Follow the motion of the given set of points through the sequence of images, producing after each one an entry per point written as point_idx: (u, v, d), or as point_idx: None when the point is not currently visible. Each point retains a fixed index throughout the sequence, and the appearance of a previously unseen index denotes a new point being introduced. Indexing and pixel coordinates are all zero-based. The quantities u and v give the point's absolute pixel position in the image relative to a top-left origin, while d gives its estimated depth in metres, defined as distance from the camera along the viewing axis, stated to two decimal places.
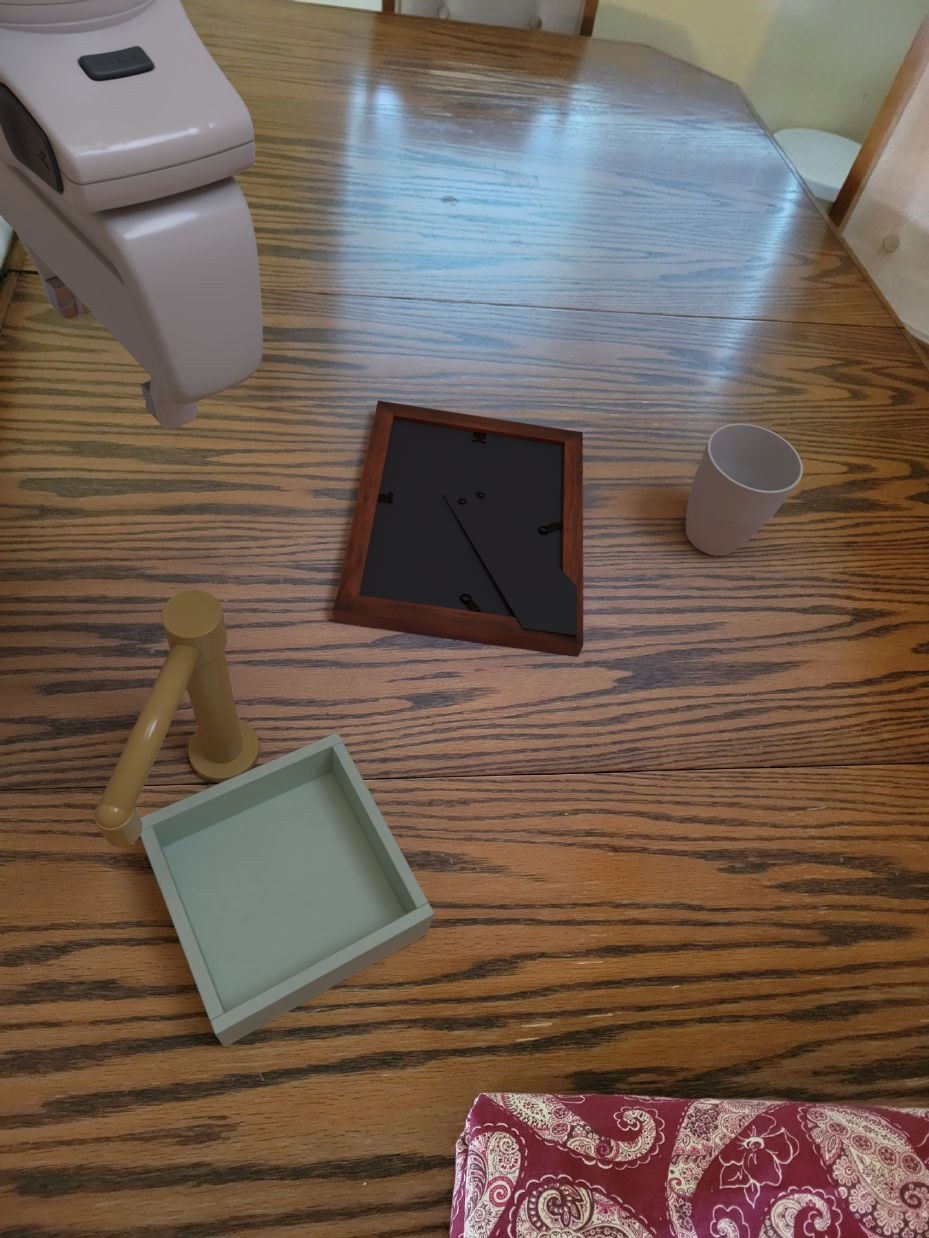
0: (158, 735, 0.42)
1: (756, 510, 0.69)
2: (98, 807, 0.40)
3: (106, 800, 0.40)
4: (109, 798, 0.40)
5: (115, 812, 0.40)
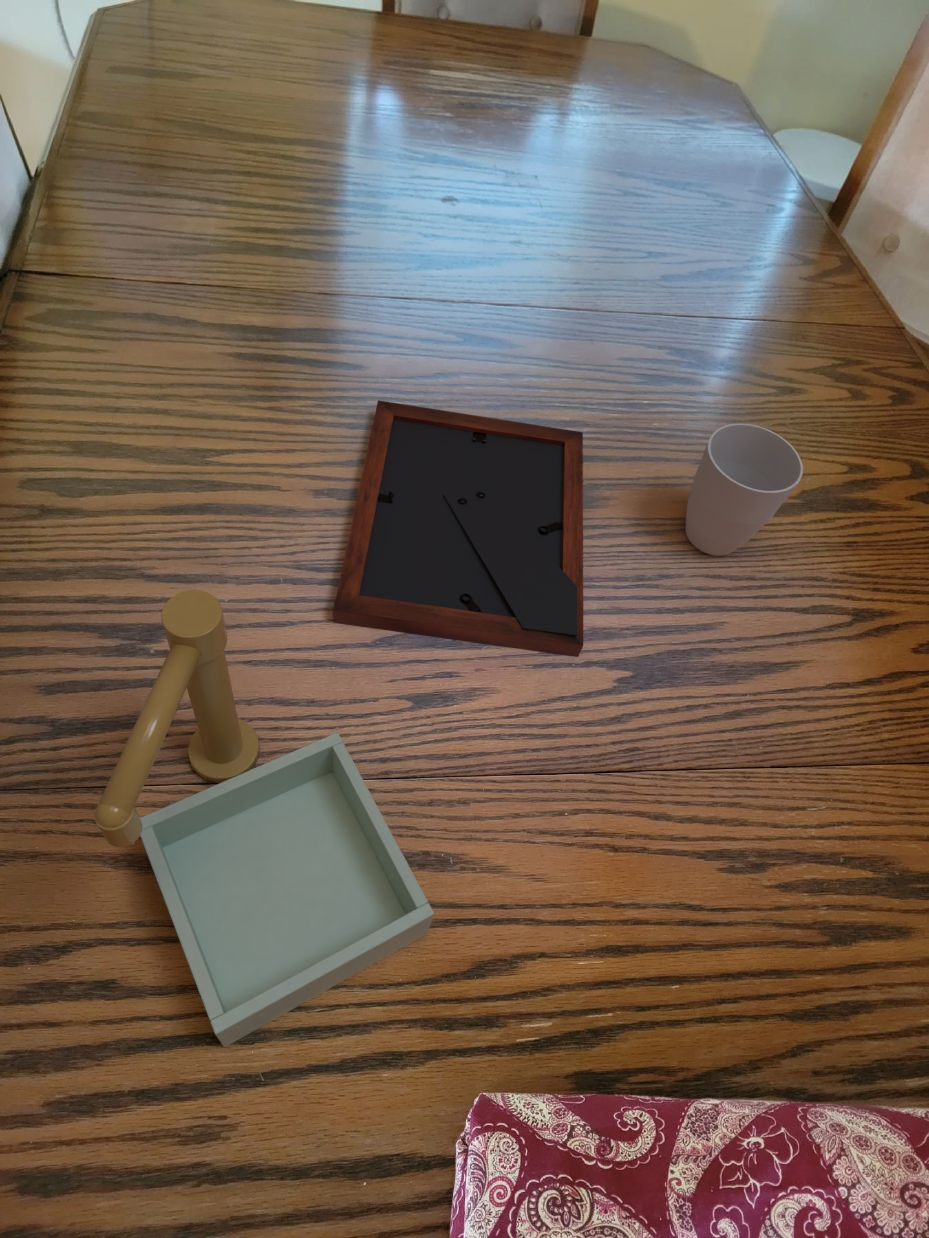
0: (158, 735, 0.42)
1: (756, 510, 0.69)
2: (98, 807, 0.40)
3: (106, 800, 0.40)
4: (109, 798, 0.40)
5: (115, 812, 0.40)
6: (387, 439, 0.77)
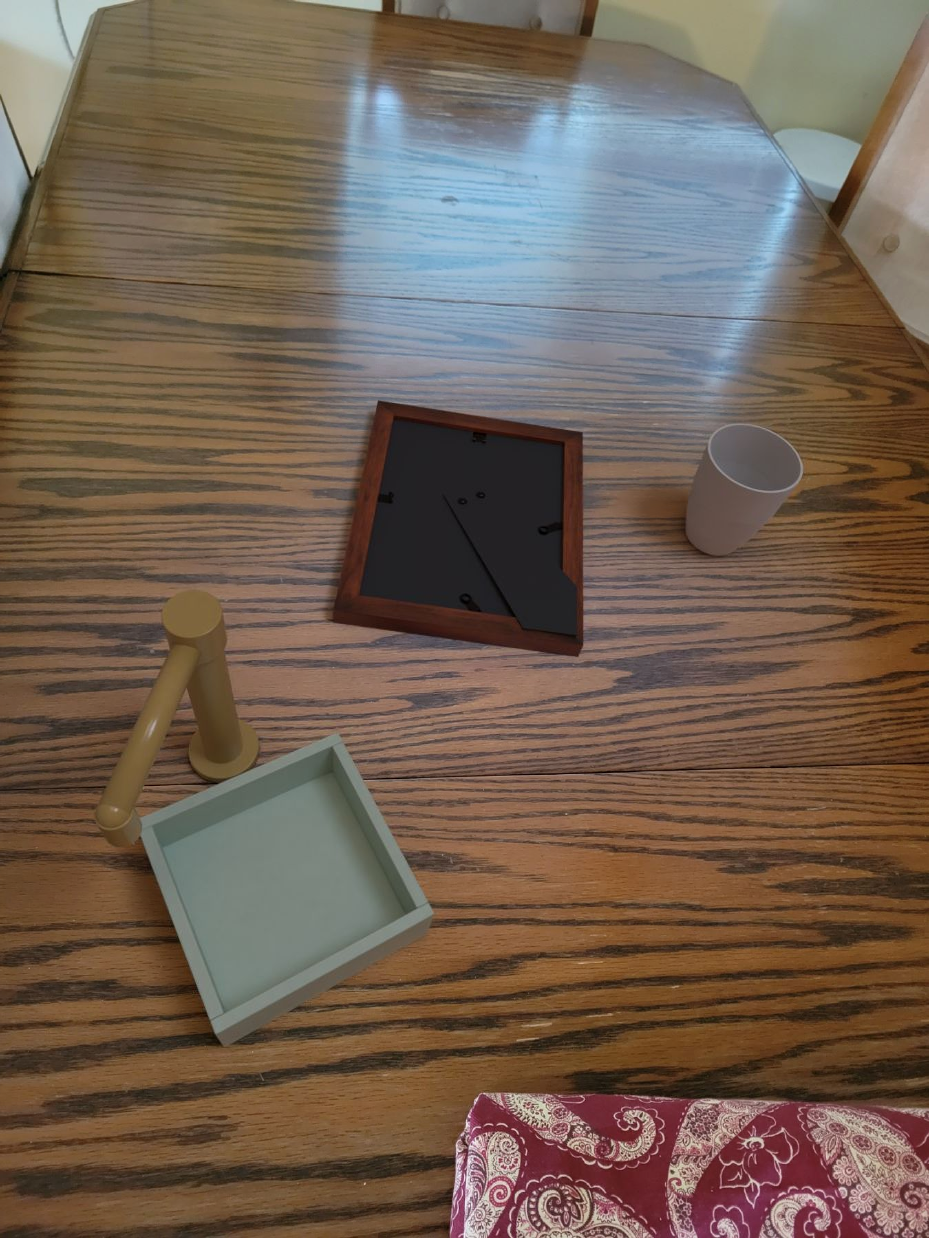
0: (158, 735, 0.42)
1: (756, 510, 0.69)
2: (98, 807, 0.40)
3: (106, 800, 0.40)
4: (109, 798, 0.40)
5: (115, 812, 0.40)
6: (387, 439, 0.77)
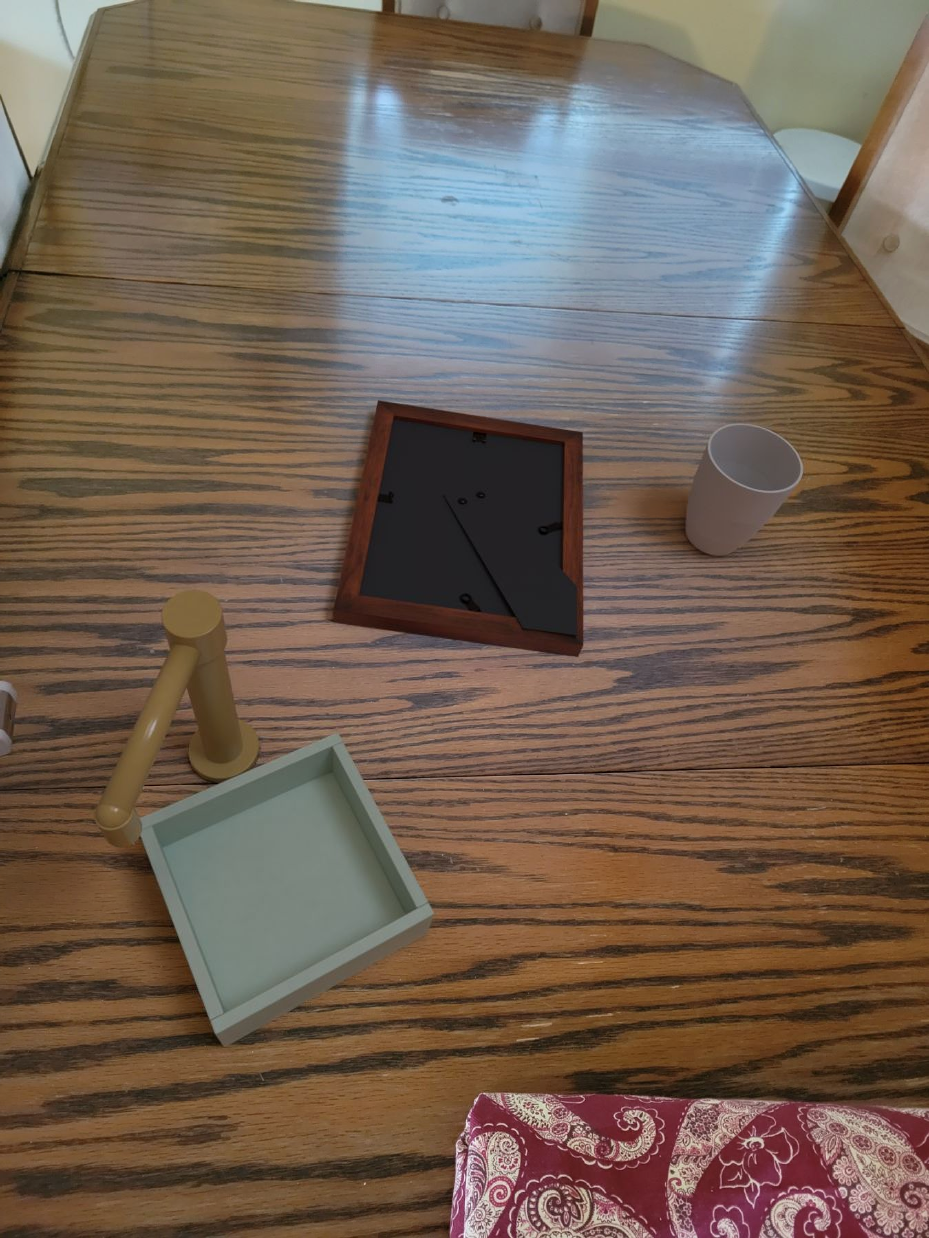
0: (158, 735, 0.42)
1: (756, 510, 0.69)
2: (98, 807, 0.40)
3: (106, 800, 0.40)
4: (109, 798, 0.40)
5: (115, 812, 0.40)
6: (387, 439, 0.77)
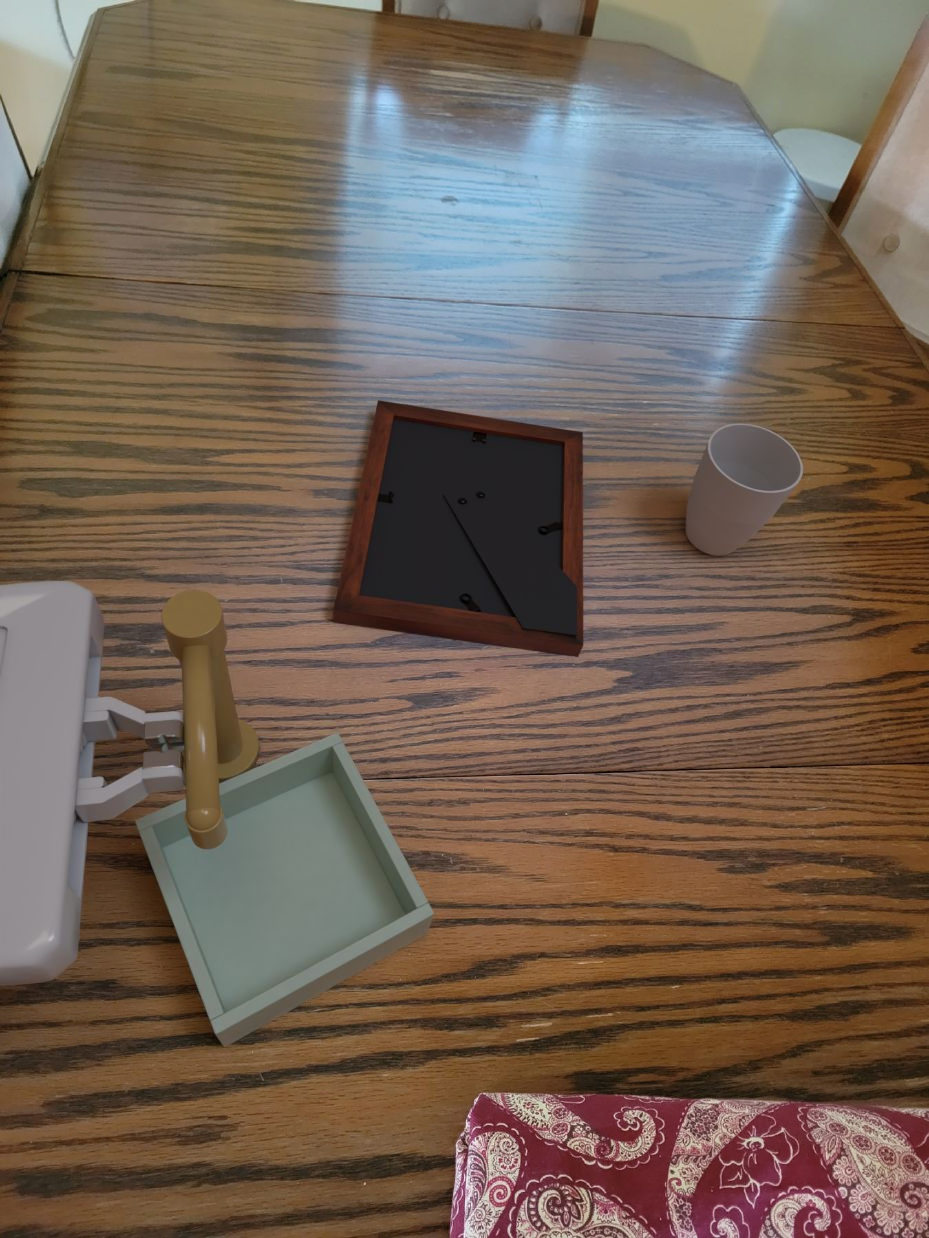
0: (212, 732, 0.43)
1: (756, 510, 0.69)
2: (189, 814, 0.40)
3: (195, 805, 0.40)
4: (197, 802, 0.40)
5: (209, 812, 0.40)
6: (387, 439, 0.77)
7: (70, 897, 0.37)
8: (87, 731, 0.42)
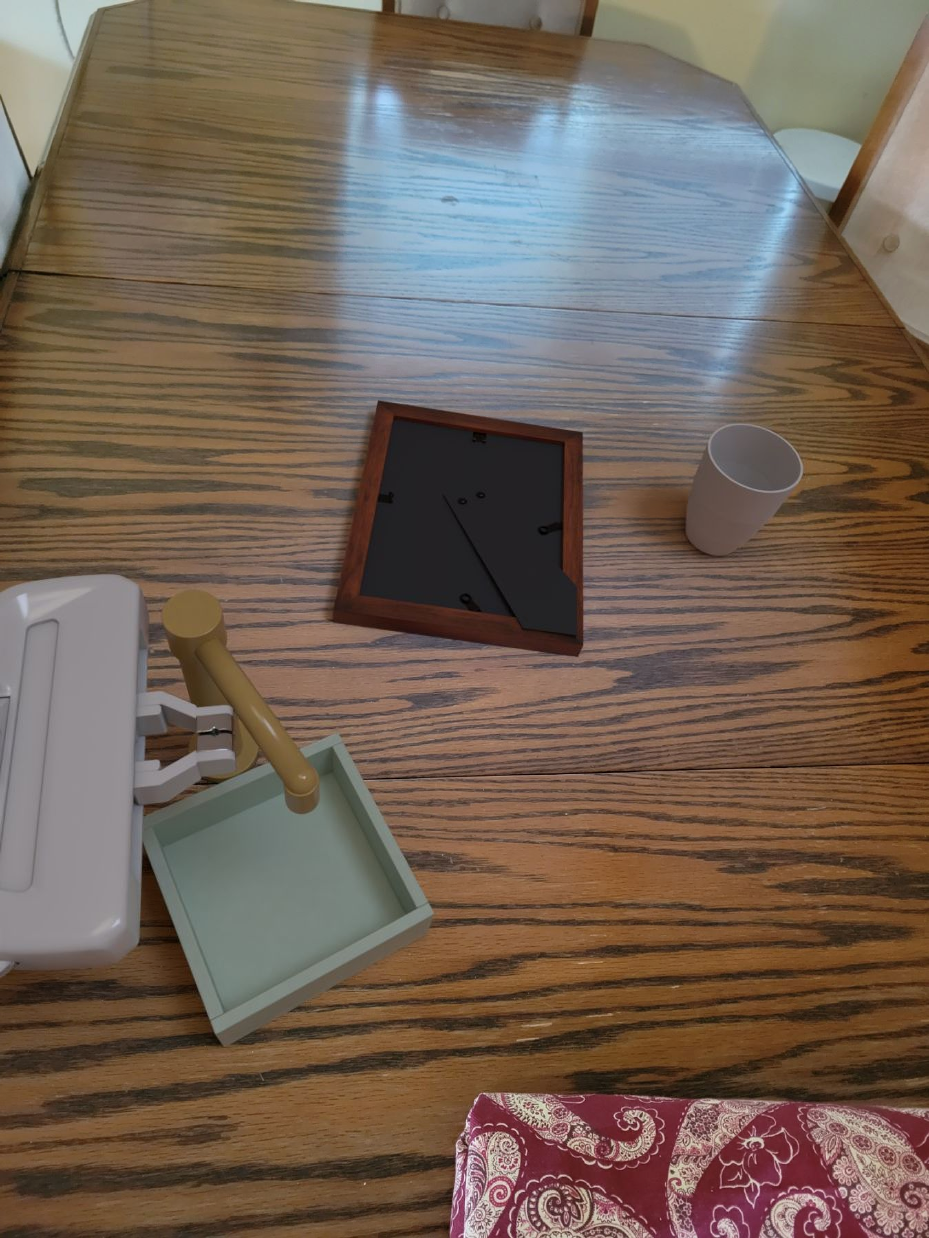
0: (269, 709, 0.44)
1: (756, 510, 0.69)
2: (291, 783, 0.42)
3: (292, 773, 0.42)
4: (293, 770, 0.42)
5: (308, 774, 0.42)
6: (387, 439, 0.77)
7: (132, 882, 0.38)
8: (139, 725, 0.43)
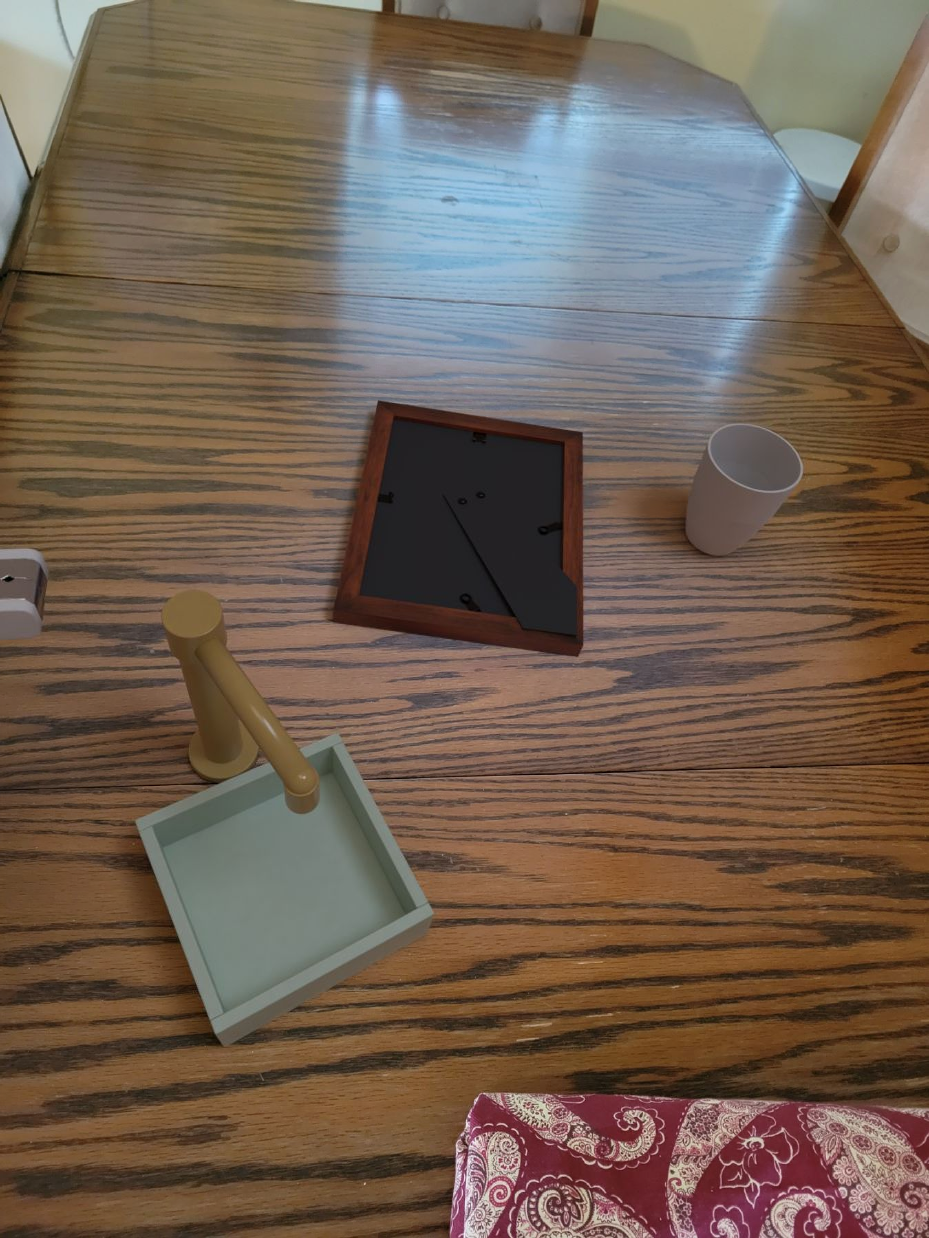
0: (269, 709, 0.44)
1: (756, 510, 0.69)
2: (291, 783, 0.42)
3: (292, 773, 0.42)
4: (293, 770, 0.42)
5: (308, 774, 0.42)
6: (387, 439, 0.77)
7: None
8: None
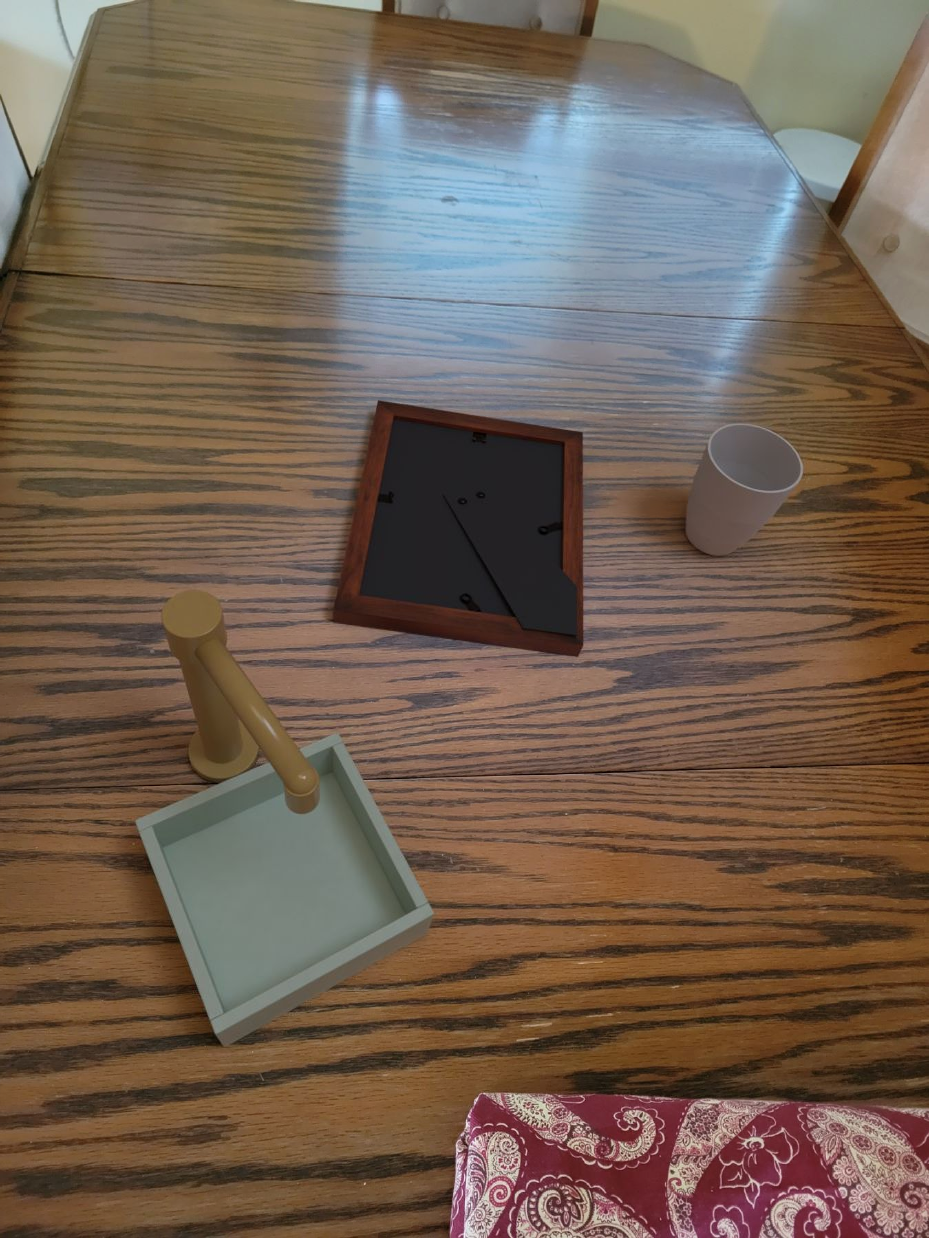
0: (269, 709, 0.44)
1: (756, 510, 0.69)
2: (291, 783, 0.42)
3: (292, 773, 0.42)
4: (293, 770, 0.42)
5: (308, 774, 0.42)
6: (387, 439, 0.77)
7: None
8: None
